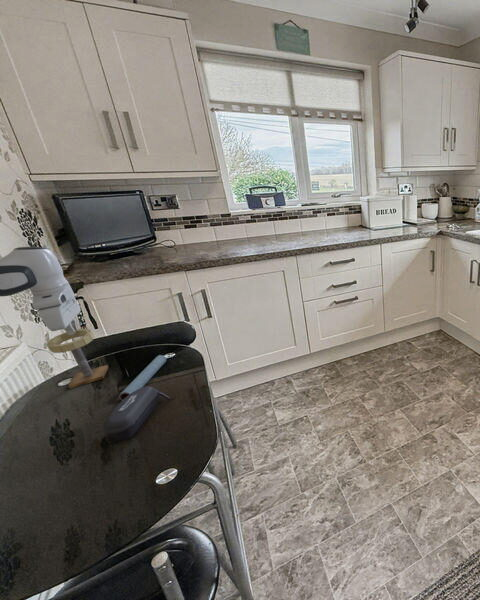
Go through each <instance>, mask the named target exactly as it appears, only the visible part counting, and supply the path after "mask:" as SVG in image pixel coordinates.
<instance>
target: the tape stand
mask: <svg viewBox="0 0 480 600" xmlns="http://www.w3.org/2000/svg"><path fill="white" fill-rule="evenodd" d="M70 353H71V354H72V356H73V358H74V360H75V362H76V364H77V367H78V368H79V370H80V371H81V372H77V373H74V375H73V376H72V378H71V380H70V382H69V383H68V385H67V388H68V389H73V388H75V387H79V386H84V385H86V384H89V383H93V382H96V381H100V380H103V379H104V378H105V376H106V374H107V372H108V369H109V365H108V364H106V365H102V366H98V367H94V368H91V366H90V365H89V362H88V360H87V358H86V356H85V354H84V352H83V350H82V347H80V348H77V349H75V350H71V351H70Z"/></svg>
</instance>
